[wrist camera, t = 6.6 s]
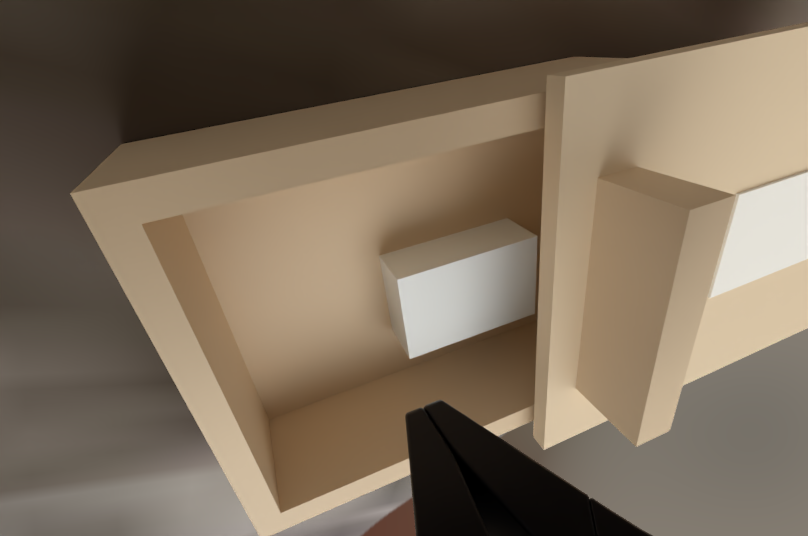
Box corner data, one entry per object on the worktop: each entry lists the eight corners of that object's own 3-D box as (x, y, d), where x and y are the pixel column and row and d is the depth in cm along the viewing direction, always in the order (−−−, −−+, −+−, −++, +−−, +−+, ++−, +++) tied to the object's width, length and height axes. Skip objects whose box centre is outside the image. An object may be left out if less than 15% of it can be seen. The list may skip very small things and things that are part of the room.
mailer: (252, 430, 16) (261, 539, 13) (121, 144, 11) (70, 193, 7) (556, 316, 20) (631, 377, 16) (573, 56, 14) (693, 60, 11)
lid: (533, 436, 15) (595, 514, 13) (546, 74, 9) (668, 85, 7) (812, 310, 19) (904, 351, 16) (953, -8, 13) (1130, -21, 10)
